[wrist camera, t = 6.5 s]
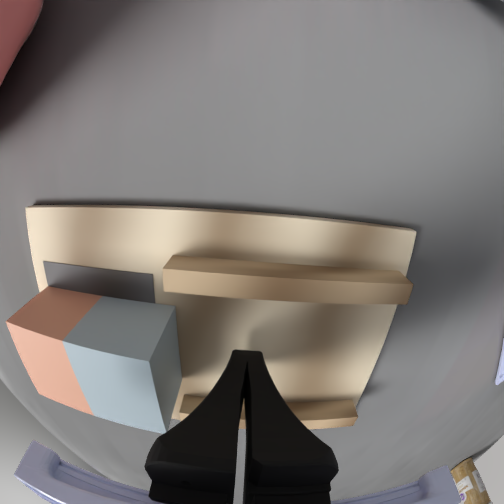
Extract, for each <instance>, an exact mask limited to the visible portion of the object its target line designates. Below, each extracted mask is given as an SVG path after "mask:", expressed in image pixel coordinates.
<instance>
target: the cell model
mask: <svg viewBox="0 0 504 504" xmlns="http://www.w3.org/2000/svg"><path fill="white" fill-rule="evenodd" d="M43 2H44V0H0V86H1V84H2V82H3V80H4V78H5V76H6V74H7V73H8V71H9V69H10V67H11V65H12V63H13V61H14V59H15V57H16V56H17V54H18V52H19V51H20V49H21V48H22V46H23V45H24V44H25V42H26V41H27V39H28V37H29V36H30V34H31V33H32V31H33V29H34V28H35V26H36V23H37V21H38V18H39V16H40V13H41V10H42V7H43Z"/></svg>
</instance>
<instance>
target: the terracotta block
mask: <svg viewBox="0 0 504 504" xmlns="http://www.w3.org/2000/svg"><path fill="white" fill-rule="evenodd" d="M101 297H102V296H100V295H94V294H88V293H82V292H76V291H71V290H66V289H60V288H55V287H50V286H48V287H46V288H45V289H44V290H43V291H41V292H40V293H39V294H38V295H36V296H35V297H34V298H33V299H31V300H30V301H29V302H28V303H27V304H25V305H24V306H23V307H22V308H21V309H20V310H18V311H17V312H16V313H15V314H14V315H13V316H11V317H10V318H9V319H8V320H7V321H6V323H7V326H8V328H9V331H10V334H11V336H12V339H13V341H14V343H15V346H16V348H17V350H18V353H19V355H20V357H21V359H22V361H23V364H24V366H25V368H26V370H27V372H28V374H29V376H30V378H31V380H32V382H33V383H34V385H35V387H36V389H37V391H38V393H39V394H41V395H43V396H45V397H48V398H50V399H52V400H54V401H57V402H59V403H62V404H64V405H67V406H69V407H72V408H74V409H77V410H80V411H83V412H85V413H88V414H91V415H94V414H93V412H92V411H91V409H90V407H89V404H88V402H87V400H86V398H85V396H84V394H83V392H82V390H81V387H80V385H79V383H78V381H77V378H76V376H75V374H74V371H73V369H72V366H71V364H70V361H69V358H68V356H67V353H66V350H65V348H64V345H63V342H62V341H63V339H64V338H65V337H66V336H67V335H68V334H69V332H70V331H71V330H72V329H73V328H74V327H75V326H76V324H77V323H78V322H79V321H80V320H81V319H82V318H83V317H84V316H85V314H86V313H87V312H88V311H89V310H90V309H91V308H92V307H93V306H94V305H95V304H96V302H97V301H98V300H99V299H100V298H101Z"/></svg>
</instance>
